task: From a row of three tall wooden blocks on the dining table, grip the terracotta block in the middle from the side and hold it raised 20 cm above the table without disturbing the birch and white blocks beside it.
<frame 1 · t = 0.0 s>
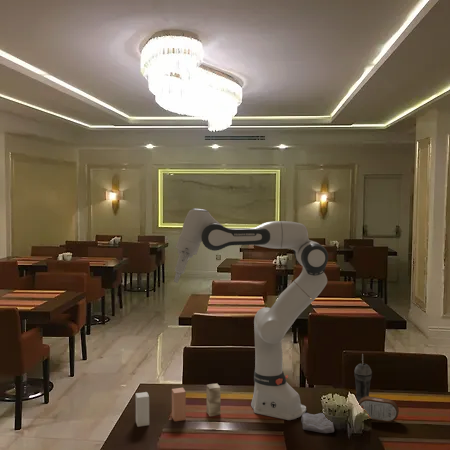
hand: (176, 279, 205), 52 cm above the table, tool tilted 20°, fingers open, 8 cm apart
stone block: (317, 428, 191), on the table
terracotta block: (178, 418, 199), on the table
tin: (377, 420, 198), on the table
birch block: (213, 413, 203), on the table
white block: (142, 423, 194), on the table
beverage cup: (362, 400, 216), on the table
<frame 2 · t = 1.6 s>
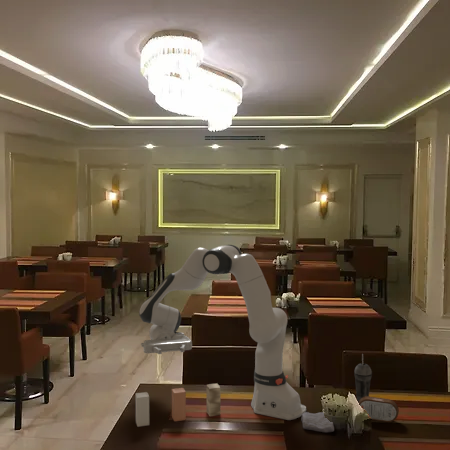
hand: (171, 351, 208), 23 cm above the table, tool horizontal, fingers open, 8 cm apart
nothing on the table moved.
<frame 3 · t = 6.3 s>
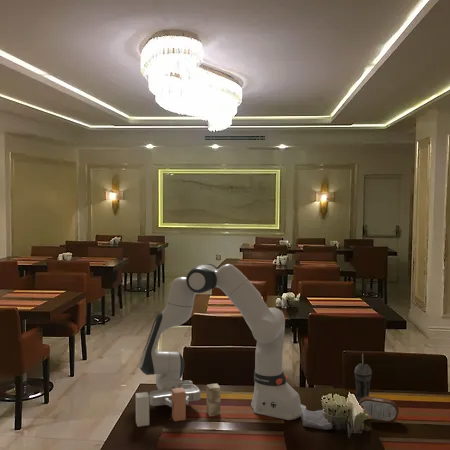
hand: (179, 403, 197), 6 cm above the table, tool horizontal, fingers closed on terracotta block, 4 cm apart
stone block: (317, 425, 194), on the table
terracotta block: (178, 418, 199), on the table, touching gripper
everything else where it was.
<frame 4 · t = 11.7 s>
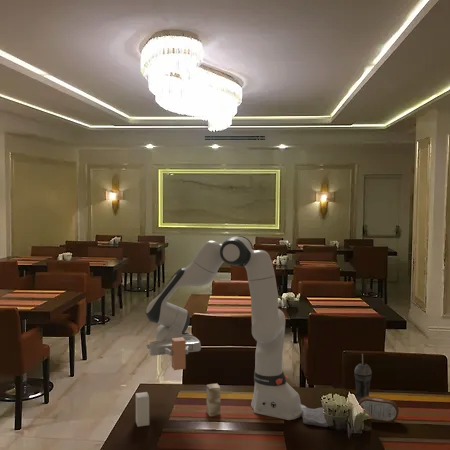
hand: (179, 352, 196), 26 cm above the table, tool horizontal, fingers closed on terracotta block, 4 cm apart
stone block: (317, 422, 196), on the table
terracotta block: (178, 367, 197), point 20 cm above the table, touching gripper
everything else where it was.
at the end: the gripper is holding terracotta block; terracotta block point 19.9 cm above the table; birch block moved 0.0 cm from its start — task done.
